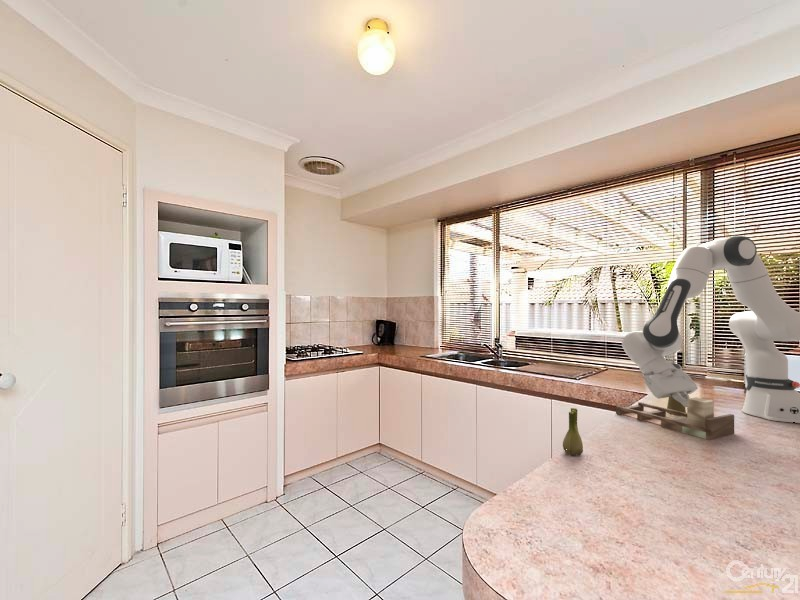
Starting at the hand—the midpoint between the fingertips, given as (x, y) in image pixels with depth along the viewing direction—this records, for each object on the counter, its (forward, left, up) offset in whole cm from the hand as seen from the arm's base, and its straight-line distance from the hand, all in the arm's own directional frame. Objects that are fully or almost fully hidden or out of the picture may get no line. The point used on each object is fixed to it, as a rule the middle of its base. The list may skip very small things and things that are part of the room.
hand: (689, 405), depth 126 cm
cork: (+3, -20, -8) cm, 22 cm away
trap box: (+5, -3, -7) cm, 9 cm away
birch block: (-3, +2, -5) cm, 6 cm away
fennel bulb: (+27, +47, -8) cm, 55 cm away
